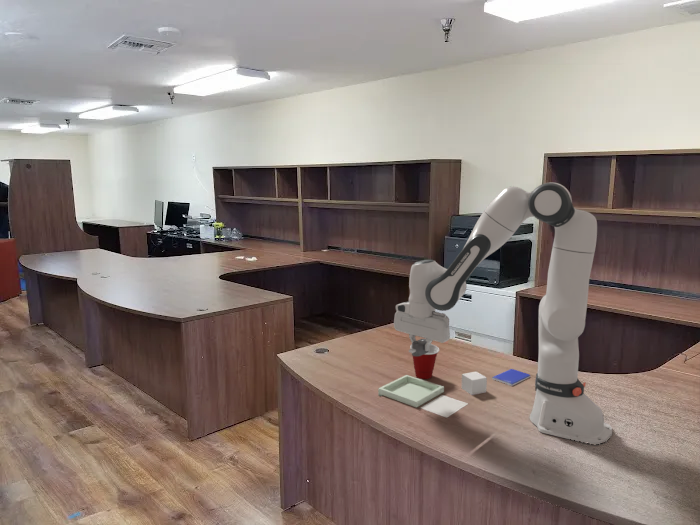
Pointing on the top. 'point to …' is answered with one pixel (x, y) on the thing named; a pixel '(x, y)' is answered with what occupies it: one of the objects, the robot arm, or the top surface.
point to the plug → (418, 347)
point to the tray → (411, 390)
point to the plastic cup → (425, 363)
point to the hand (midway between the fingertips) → (420, 348)
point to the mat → (444, 406)
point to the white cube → (474, 383)
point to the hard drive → (511, 377)
